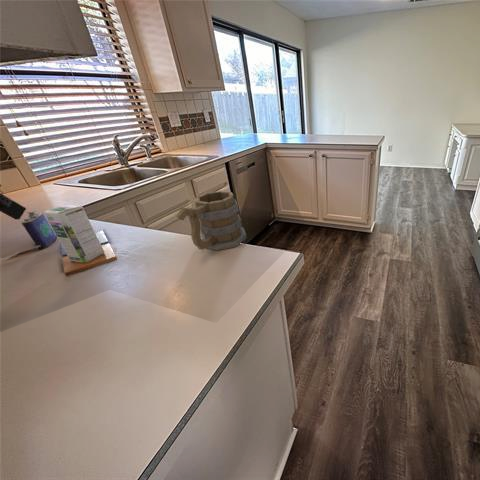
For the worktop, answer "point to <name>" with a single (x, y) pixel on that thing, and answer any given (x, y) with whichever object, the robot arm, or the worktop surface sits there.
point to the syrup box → (74, 233)
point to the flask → (39, 229)
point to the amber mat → (76, 267)
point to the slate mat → (100, 237)
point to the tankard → (215, 221)
